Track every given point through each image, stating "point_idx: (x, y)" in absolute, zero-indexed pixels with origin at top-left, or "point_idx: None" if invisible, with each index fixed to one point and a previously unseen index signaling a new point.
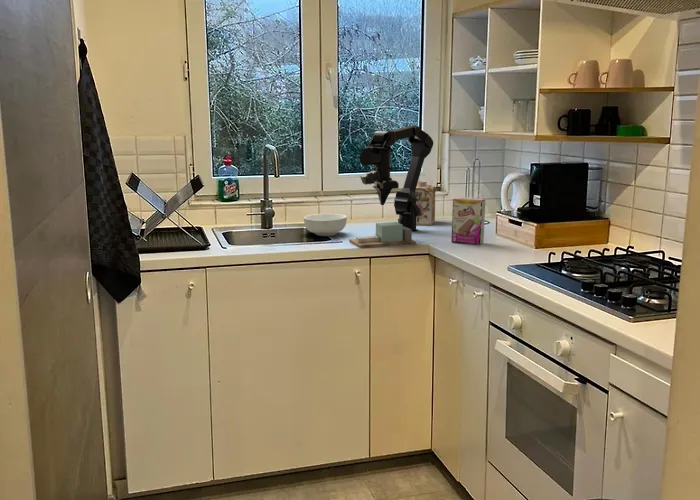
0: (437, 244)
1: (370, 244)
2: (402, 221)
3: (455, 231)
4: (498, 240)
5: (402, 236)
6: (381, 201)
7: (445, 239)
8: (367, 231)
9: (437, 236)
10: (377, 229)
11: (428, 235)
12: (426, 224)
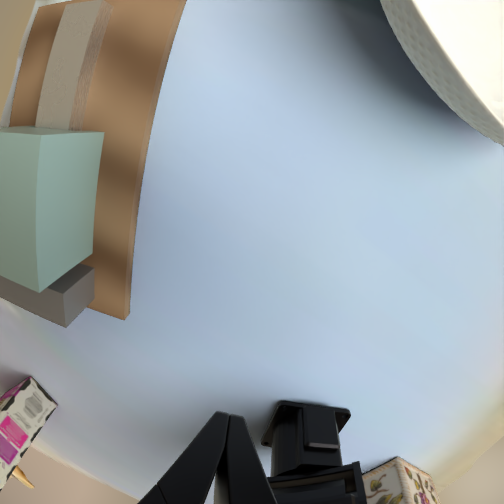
0: (10, 325)
1: (24, 55)
2: (298, 441)
3: (7, 399)
4: (52, 449)
5: None
6: (193, 441)
7: (76, 400)
8: (413, 273)
9: (130, 421)
10: (43, 130)
11: (159, 416)
12: None
